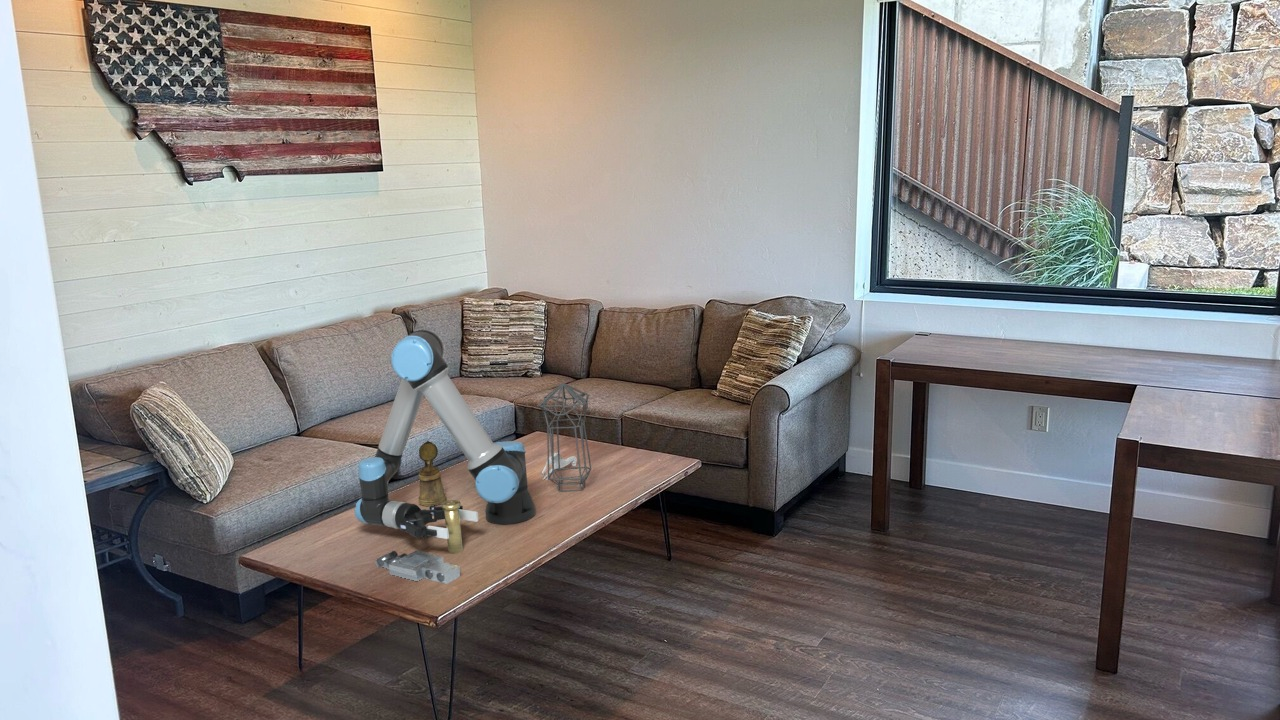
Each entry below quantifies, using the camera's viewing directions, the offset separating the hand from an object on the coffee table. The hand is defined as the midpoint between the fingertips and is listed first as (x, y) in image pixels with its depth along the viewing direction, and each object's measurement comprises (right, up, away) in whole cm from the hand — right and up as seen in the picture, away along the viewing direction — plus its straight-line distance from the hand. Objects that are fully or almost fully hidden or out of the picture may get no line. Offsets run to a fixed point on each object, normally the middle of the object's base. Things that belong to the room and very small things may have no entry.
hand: (462, 525), depth 256 cm
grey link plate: (-10, -11, -9) cm, 18 cm away
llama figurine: (+21, +6, +67) cm, 70 cm away
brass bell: (-19, 0, +46) cm, 50 cm away
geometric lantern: (+26, +4, +52) cm, 58 cm away
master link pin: (-3, -8, +3) cm, 9 cm away
